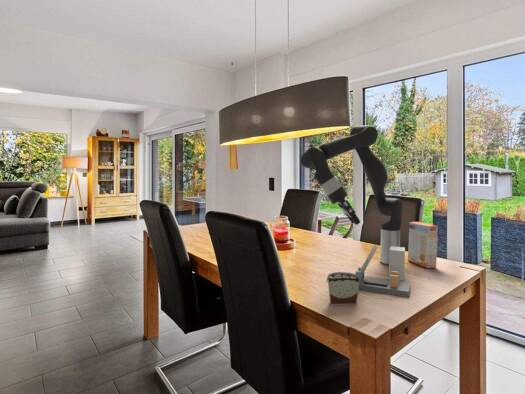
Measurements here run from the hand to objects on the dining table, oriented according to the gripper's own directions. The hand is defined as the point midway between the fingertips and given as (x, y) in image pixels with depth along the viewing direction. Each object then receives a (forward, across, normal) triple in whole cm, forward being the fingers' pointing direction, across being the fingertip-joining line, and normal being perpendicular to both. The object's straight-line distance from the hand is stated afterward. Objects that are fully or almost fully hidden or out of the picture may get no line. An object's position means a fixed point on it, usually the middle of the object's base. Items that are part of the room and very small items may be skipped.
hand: (356, 223), depth 138 cm
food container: (+18, -15, +22) cm, 33 cm away
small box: (+32, +15, -3) cm, 35 cm away
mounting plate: (+26, +1, +8) cm, 27 cm away
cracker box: (+40, +36, -19) cm, 58 cm away
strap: (+19, +3, +11) cm, 22 cm away
